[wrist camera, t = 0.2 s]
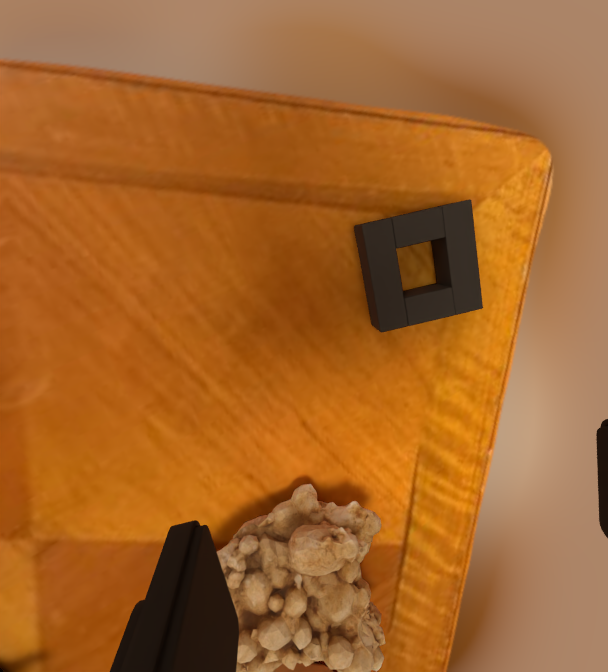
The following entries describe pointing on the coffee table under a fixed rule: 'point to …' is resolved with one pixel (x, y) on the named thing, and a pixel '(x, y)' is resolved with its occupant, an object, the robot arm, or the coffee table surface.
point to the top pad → (449, 257)
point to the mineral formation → (304, 587)
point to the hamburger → (304, 668)
